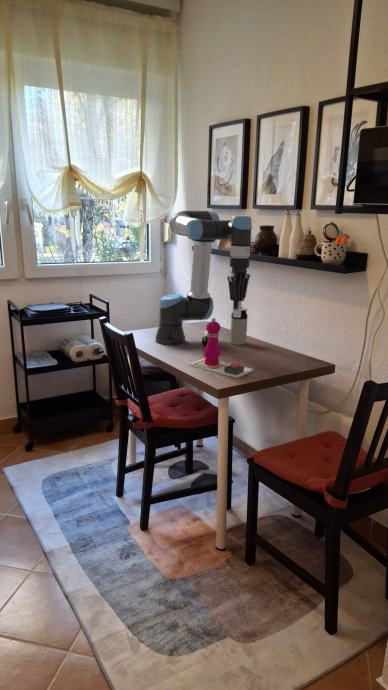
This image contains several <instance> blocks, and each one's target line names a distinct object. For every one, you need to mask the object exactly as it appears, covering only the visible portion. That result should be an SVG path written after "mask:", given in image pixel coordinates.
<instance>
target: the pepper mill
mask: <svg viewBox="0 0 388 690" xmlns="http://www.w3.org/2000/svg"><path fill="white" fill-rule="evenodd" d="M205 327H206V328H205V330H206V331H207V333H206V337H207V344H206V346H205V348H204V351H203V357H204V358H205V364H206V365H218V364H219V361H220V359H219V358H220V357H221V348H220V346H219V344H218V338H219V337H220V335H219V334H220V333H219V332H220V331H221V325H220V323H219V322H217V319H216V318H215V317H212V318H211V320H210V321H209V322H207V324H206V326H205Z"/></svg>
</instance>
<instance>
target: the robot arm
mask: <svg viewBox="0 0 388 690" xmlns="http://www.w3.org/2000/svg"><path fill="white" fill-rule="evenodd" d="M231 218H232V219H227V220H222V219H220V217H219V215H218V213H217V212H215V211H210V210H181V211H178V212H176V213H174V215H172V216H171V218H170V221H169V227H170V229H171V231H172V232H173V233H174V234H175V235H178V236H182V237H187V239H189V240H191V241H192V242H193V250H192V251H193V252H192V265H191V266H192V267H191V275H190V276H191V280H190V290H189V291H188V292H187V293H186V297H185V296H183V294H182V293H181V294H180V293H177V294H176V293H173V294H167V295H164V296H161V297H160V299H159V305H158V308H159V309H158V310H159V312H158V313H159V314H158V315H159V316H158V321H159V323H158V325H159V326H158V329H157V332H156V335H155V342H156V343H158V344H162V345H171V346H172V345H173V346H175V345H176V346H177V345H181V344H184V343H185V342H186V335H185V331H184V328H183V321H204V320H208V319H210V318H211V316H212V314H213V313H214V312H213V311H214V300H213V298H212V297H211V294H210V293H209V291H208V289H209V278H210V268H211V257H212V246H213V244H214V243H215V242H216V240H217V241H218V240H219V241H222V240H223V241H230V252H229V254H230V259H229V268H231V272H230V273H231V274H230V275H228V276H227V277H226V278H227V281H228V292H229V299H230V301H232V303H233V306H232V308H233V309H232V313H233V317H237V318H240V317H241V307H242V303H243V302H245V299H246V297H247V292H248V291H247V290H248V285H249V280H250V278H251V274H250V273H247V272H248V270H247V269H248V268H249V267H250V260H251V259H250V255H251V243H252V242H251V240H252V228H253V225H252V224H253V223H252V222H253V221H252V217H251V216H249V215H247V216H246V215H233V216H232V217H231Z"/></svg>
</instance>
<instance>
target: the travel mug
mask: <svg viewBox="0 0 388 690" xmlns="http://www.w3.org/2000/svg"><path fill="white" fill-rule="evenodd" d="M232 310H233V307H232ZM247 311H248V308H247V307H244V306H243V307H241V317H240V318H237V317H233V312H231V319H230V337H229V338H230V339H229V342H230V344H232V345H236V346H243V345H246V344H247V331H248V313H247Z"/></svg>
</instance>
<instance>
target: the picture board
mask: <svg viewBox="0 0 388 690" xmlns="http://www.w3.org/2000/svg"><path fill="white" fill-rule="evenodd" d="M205 358H206V357H204V358H202V359H198V360H196V361H193V362H190V363H189V364H190V365H189V366H190V367H195V368H197V369H202V370H204V371H209V372H213V373H217V374H221V375H223V376H226V377H227V376H228V377H232V378H235V379H237V378H240V377H242V376H245V375H246V374H249V373H252V372H253V371H254V370H253V368H250V367H246V366H243V365H239V368H237V369H233V368H230V362H227V361H222V360H219V364H218V365H206V364H205Z"/></svg>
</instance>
